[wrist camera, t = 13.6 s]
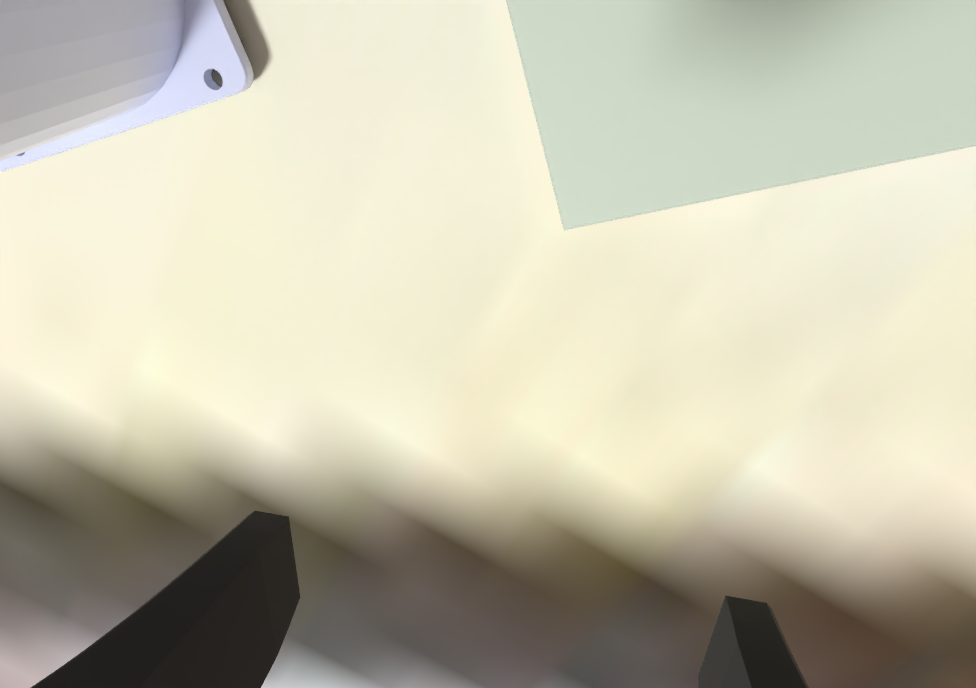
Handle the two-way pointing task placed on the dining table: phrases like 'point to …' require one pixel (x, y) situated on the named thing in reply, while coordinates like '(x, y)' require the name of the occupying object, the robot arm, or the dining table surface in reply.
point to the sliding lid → (737, 94)
